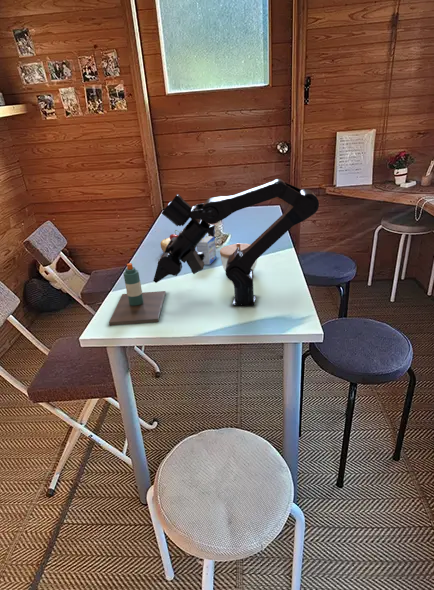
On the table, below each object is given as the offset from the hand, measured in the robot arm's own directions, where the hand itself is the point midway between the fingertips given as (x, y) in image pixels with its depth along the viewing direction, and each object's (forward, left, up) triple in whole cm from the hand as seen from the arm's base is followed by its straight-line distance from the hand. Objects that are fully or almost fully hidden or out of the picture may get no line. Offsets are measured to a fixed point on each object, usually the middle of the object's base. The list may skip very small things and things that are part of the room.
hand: (157, 275), depth 129 cm
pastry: (+49, +8, -10) cm, 51 cm away
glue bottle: (-1, +8, -8) cm, 12 cm away
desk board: (-3, +6, -9) cm, 12 cm away
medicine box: (+38, -7, -10) cm, 40 cm away
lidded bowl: (+24, -21, -10) cm, 34 cm away
